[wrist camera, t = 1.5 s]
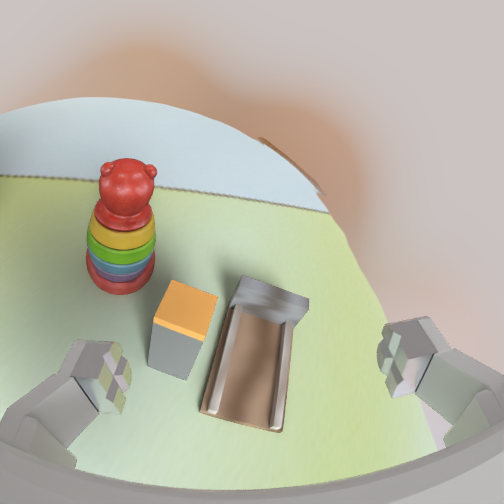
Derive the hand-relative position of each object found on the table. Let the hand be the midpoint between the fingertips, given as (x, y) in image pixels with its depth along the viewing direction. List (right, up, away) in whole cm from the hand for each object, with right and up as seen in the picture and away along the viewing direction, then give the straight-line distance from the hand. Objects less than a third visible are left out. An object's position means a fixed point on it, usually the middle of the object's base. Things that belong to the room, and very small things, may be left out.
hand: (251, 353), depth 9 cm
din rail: (0, -12, +30) cm, 32 cm away
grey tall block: (-10, -10, +27) cm, 30 cm away
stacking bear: (-19, 0, +33) cm, 38 cm away
